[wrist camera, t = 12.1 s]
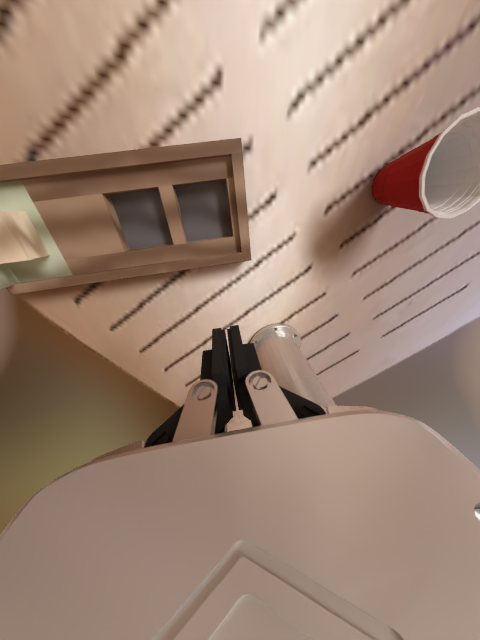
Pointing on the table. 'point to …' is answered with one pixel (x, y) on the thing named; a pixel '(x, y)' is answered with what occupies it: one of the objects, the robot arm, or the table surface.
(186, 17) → the table surface
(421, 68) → the table surface
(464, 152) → the plastic cup
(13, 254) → the maple block
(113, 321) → the table surface
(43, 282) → the tray
